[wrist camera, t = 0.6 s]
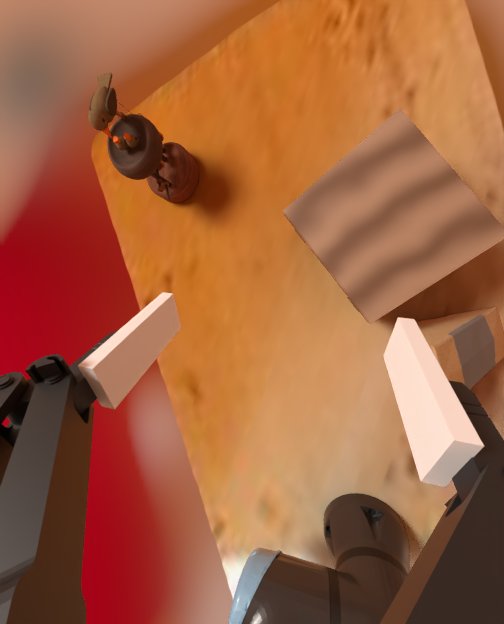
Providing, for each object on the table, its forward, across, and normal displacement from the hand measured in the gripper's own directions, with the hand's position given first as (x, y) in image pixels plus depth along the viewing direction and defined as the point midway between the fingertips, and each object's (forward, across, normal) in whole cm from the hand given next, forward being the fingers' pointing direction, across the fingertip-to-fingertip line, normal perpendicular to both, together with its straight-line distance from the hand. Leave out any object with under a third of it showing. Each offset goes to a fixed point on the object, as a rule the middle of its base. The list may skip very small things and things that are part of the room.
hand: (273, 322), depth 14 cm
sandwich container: (+27, -26, +19) cm, 42 cm away
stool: (+34, -11, +4) cm, 36 cm away
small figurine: (+41, +28, -4) cm, 49 cm away
